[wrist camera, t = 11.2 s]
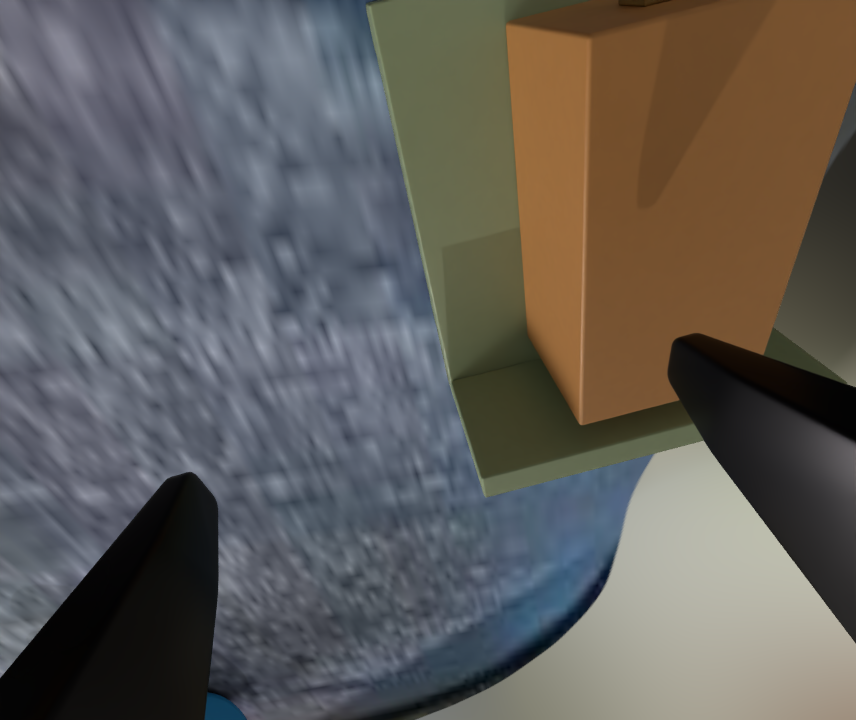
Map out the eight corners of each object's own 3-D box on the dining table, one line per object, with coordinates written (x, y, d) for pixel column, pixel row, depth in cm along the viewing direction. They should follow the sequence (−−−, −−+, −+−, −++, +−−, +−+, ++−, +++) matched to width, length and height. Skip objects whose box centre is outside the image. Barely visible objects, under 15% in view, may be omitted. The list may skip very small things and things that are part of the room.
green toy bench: (357, 1, 14) (388, 8, 7) (714, -88, 14) (1136, -178, 7) (431, 326, 21) (485, 498, 14) (664, 266, 22) (836, 406, 14)
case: (666, 300, 16) (756, 381, 13) (527, 336, 16) (580, 427, 13) (720, -55, 10) (913, -80, 7) (502, 0, 10) (588, 1, 7)
